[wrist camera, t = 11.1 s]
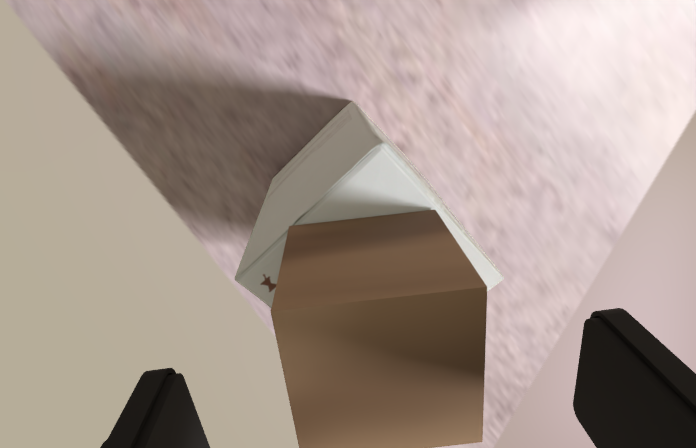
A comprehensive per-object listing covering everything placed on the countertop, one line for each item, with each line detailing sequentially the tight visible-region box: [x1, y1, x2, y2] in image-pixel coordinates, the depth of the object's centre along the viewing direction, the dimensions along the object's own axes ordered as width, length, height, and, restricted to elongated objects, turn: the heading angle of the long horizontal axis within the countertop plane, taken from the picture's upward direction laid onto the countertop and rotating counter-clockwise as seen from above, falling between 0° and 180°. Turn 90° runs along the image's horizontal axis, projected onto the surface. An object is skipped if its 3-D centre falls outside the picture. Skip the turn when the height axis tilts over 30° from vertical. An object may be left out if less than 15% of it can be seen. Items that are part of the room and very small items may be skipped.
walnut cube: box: [271, 210, 487, 448], centre depth 13 cm, size 5×5×5 cm
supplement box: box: [235, 101, 504, 308], centre depth 21 cm, size 7×7×13 cm
